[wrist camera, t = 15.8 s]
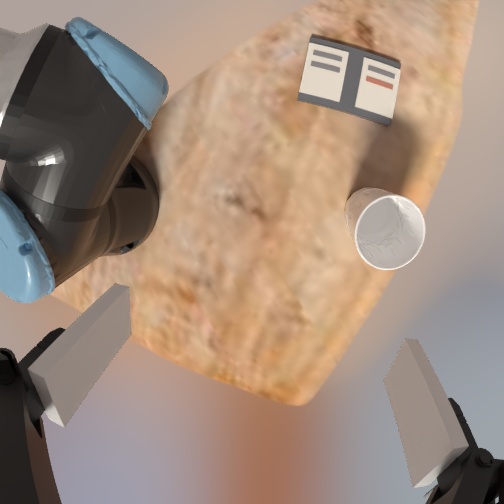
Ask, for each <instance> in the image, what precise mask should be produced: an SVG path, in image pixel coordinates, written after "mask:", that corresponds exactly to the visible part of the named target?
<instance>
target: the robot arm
mask: <svg viewBox="0 0 504 504" xmlns="http://www.w3.org/2000/svg"><path fill="white" fill-rule="evenodd" d="M65 28H66V29H65V30H64V29H60V28H58V27H55V26H53V25H50V24H47V23H46V24H43V25H41V26H39V27H37V28H34V29H32V30H30V31H28V32H26V33H22V34H18V33H15V32H12V31H9V30H6V29H2V28H0V159H2V160H6V164H5V167H4V170H3V174H2V178H1V181H0V290H1V291H2V292H3V293H4V294H5V295H7V296H8V297H9V298H11V299H13V300H15V301H17V302H24V303H31V302H34V301H36V300H38V299H39V298H41V297H43V296H45V295H48V294H50V293H52V292H53V290H54V289H55V288H56V287H58V286H59V285H60V284H62V283H63V282H64V281H66V280H67V279H68V278H70V277H71V276H73V275H74V274H75V273H77V272H78V271H80V270H81V269H83V268H84V267H85V266H87V265H88V264H90V263H91V262H93V261H94V260H95V259H97V258H98V257H100V256H113V255H121V254H124V253H127V252H129V251H131V250H133V249H135V248H136V247H137V246H139V245H140V244H141V243H143V242H144V241H145V240H146V239H147V238H148V236H149V235H150V233H151V232H152V230H153V228H154V226H155V223H156V220H157V215H158V195H157V190H156V186H155V183H154V181H153V179H152V177H151V175H150V173H149V172H148V170H147V169H146V167H145V166H144V165H143V164H142V163H141V162H140V161H139V160H137V159H136V158H135V157H133V154H134V152H135V150H136V149H137V147H138V145H139V144H140V142H141V140H142V138H143V137H144V135H145V134H146V132H147V130H150V129H151V127H152V121H153V119H154V117H155V116H156V114H157V112H158V110H159V109H160V107H161V105H162V104H163V102H164V100H165V99H166V97H167V94H168V82H167V80H166V78H165V76H164V75H163V74H162V73H161V72H160V71H159V70H158V69H156V68H155V67H154V66H153V65H152V64H150V63H149V62H148V61H146V60H145V59H144V58H142V57H141V56H140V55H138V54H137V53H136V52H134V51H133V50H131V49H130V48H129V47H127V46H126V45H124V44H122V43H121V42H120V41H118V40H117V39H115V38H114V37H112V36H111V35H109V34H108V33H106V32H104V31H102V30H101V29H99V28H98V27H96V26H94V25H93V24H91V23H90V22H88V21H86V20H85V19H83V18H81V17H76V18H73V19H72V20H71V21H70V22H68V23H67V24H66V26H65ZM130 335H131V319H130V298H129V287H127V286H124V285H120V284H116V283H115V284H114V285H113V286H112V287H111V288H110V289H109V290H107V291H106V292H105V293H104V294H103V295H102V296H101V297H100V298H99V299H98V300H97V301H96V302H94V303H93V304H92V305H91V306H90V307H89V308H88V309H87V310H86V311H85V312H84V313H83V314H82V315H81V316H80V317H79V318H78V319H77V320H76V321H74V323H72V324H71V325H70V326H69V327H68V328H67V329H66V330H65V329H63V328H58V329H56V330H54V331H51V332H50V333H49V334H47V336H45V337H44V338H43V340H42V341H40V342H39V343H38V344H37V346H36V347H34V348H33V349H32V350H31V351H30V352H29V353H28V354H27V355H26V356H25V357H24V358H23V359H22V360H21V361H20V362H19V363H17V360H16V358H15V355H14V354H13V352H12V351H11V350H9V349H7V348H0V504H62V503H61V500H60V497H59V493H58V490H57V487H56V483H55V479H54V475H53V471H52V467H51V463H50V458H49V454H48V449H47V444H46V438H45V432H44V426H43V420H42V418H41V415H42V414H43V412H44V411H46V414H47V416H48V418H49V419H50V420H52V421H53V422H55V423H57V424H59V425H61V426H63V427H65V426H66V425H67V423H68V422H69V420H70V419H71V418H72V416H73V415H74V413H75V412H76V410H77V409H78V407H79V406H80V404H81V403H82V401H83V400H84V398H85V397H86V396H87V394H88V393H89V392H90V390H91V389H92V387H93V386H94V384H95V383H96V382H97V380H98V379H99V378H100V376H101V375H102V373H103V372H104V371H105V369H106V368H107V366H108V365H109V364H110V362H111V361H112V360H113V358H114V357H115V355H116V354H117V353H118V351H119V350H120V349H121V347H122V346H123V345H124V343H125V342H126V341H127V339H128V338H129V337H130ZM384 383H385V387H386V390H387V393H388V396H389V400H390V403H391V406H392V409H393V413H394V417H395V420H396V424H397V427H398V430H399V434H400V438H401V442H402V446H403V449H404V453H405V457H406V461H407V465H408V469H409V474H410V478H411V483H412V487H413V488H415V487H421V486H427V485H429V484H430V483H431V482H433V481H434V480H435V479H436V478H437V481H438V484H437V485H436V486H435V487H434V488H433V489H431V490H430V491H429V492H428V493H426V495H425V496H424V498H426V497H427V496H428V495H430V494H431V495H430V497H429V498H428V500H427V502H426V504H495V499H496V498H497V497H498V496H499V502H498V503H496V504H504V460H500V459H494V458H493V456H492V455H491V453H490V452H489V451H487V450H486V449H483V448H478V446H477V444H476V442H475V439H474V437H473V435H472V433H471V430H470V428H469V426H468V424H467V423H466V422H467V421H466V419H465V417H464V416H463V413H462V411H461V409H460V406H459V405H458V404H457V403H456V402H455V401H454V400H453V399H452V398H447V395H446V394H445V391H444V389H443V387H442V385H441V383H440V381H439V379H438V377H437V375H436V373H435V371H434V369H433V367H432V366H431V364H430V362H429V360H428V358H427V356H426V354H425V352H424V351H423V348H422V347H421V345H420V343H419V341H418V340H416V339H406V338H405V339H404V341H403V343H402V346H401V347H400V350H399V352H398V354H397V356H396V358H395V360H394V362H393V364H392V365H391V367H390V369H389V371H388V373H387V375H386V377H385V378H384Z"/></svg>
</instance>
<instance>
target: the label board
mask: <svg viewBox="0 0 504 504" xmlns="http://www.w3.org/2000/svg"><path fill="white" fill-rule="evenodd" d="M400 67H401V64H400V63H397V62H395V61H392V60H389V59H386V58H384V57H381V56H378V55H375V54H372V53H369V52H366V51H363V50H359V49H356V48H353V47H349V46H346V45H342V44H338V43H335V42H331V41H327V40H323V39H318V38H314V37H311V38H310V42H309V47H308V52H307V57H306V62H305V66H304V71H303V76H302V81H301V85H300V90H299V95H298V100H297V101H302V102H306V103H310V104H314V105H318V106H322V107H326V108H330V109H334V110H337V111H341V112H345V113H348V114H352V115H355V116H358V117H361V118H365V119H368V120H371V121H374V122H377V123H380V124H383V125H386V126H390V124H391V119H392V118H393V113H394V107H395V102H396V96H397V90H398V85H399V78H400V72H401V70H400Z"/></svg>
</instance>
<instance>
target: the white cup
mask: <svg viewBox="0 0 504 504" xmlns="http://www.w3.org/2000/svg"><path fill="white" fill-rule="evenodd" d="M344 215H345V220H346V224H347V227H348V230H349V232H350V235H351V237H352V239H353V241H354V243H355V245H356V247H357V250H358V252H359V254H360V255H361V257H362V258H363V259H364V260H365V261H366V262H367V263H368V264H369V265H371V266H373V267H375V268H378V269H382V270H393V269H397V268H400V267H402V266H404V265H406V264H408V263H409V262H410V261H411V260H413V259H414V258H415V256H416V255H417V254H418V253H419V251H420V249H421V247H422V245H423V242H424V239H425V232H426V230H425V229H426V228H425V221H424V217H423V215H422V212H421V211H420V209H419V208H418V206H417V205H416V204H415V203H414V202H413V201H411V200H410V199H408V198H406V197H404V196H401V195H398V194H395V193H392V192H390V191H386V190H383V189H378V188H373V187H364V188H362V189H360V190H358V191H356V192H354V193H353V194H352V195H351V196H350V198H349V199H348V200H347V202H346V206H345V210H344Z"/></svg>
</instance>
